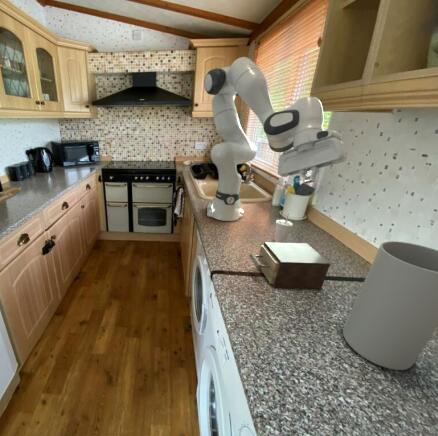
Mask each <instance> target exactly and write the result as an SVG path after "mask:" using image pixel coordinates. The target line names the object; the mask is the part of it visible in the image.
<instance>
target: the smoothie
mask: <svg viewBox="0 0 438 436" xmlns="http://www.w3.org/2000/svg"><path fill="white" fill-rule="evenodd" d="M289 215H290V212H287V213H286V217H285V219H276V220H275V223H274V224H275V229H274V230H275V231H274V241H273V242H276V243H286V240H287V238H288V236H289V234H290V231H291V229H292V228H293V226H294V224H293V222H292V221H289V220H288V219H289Z"/></svg>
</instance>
